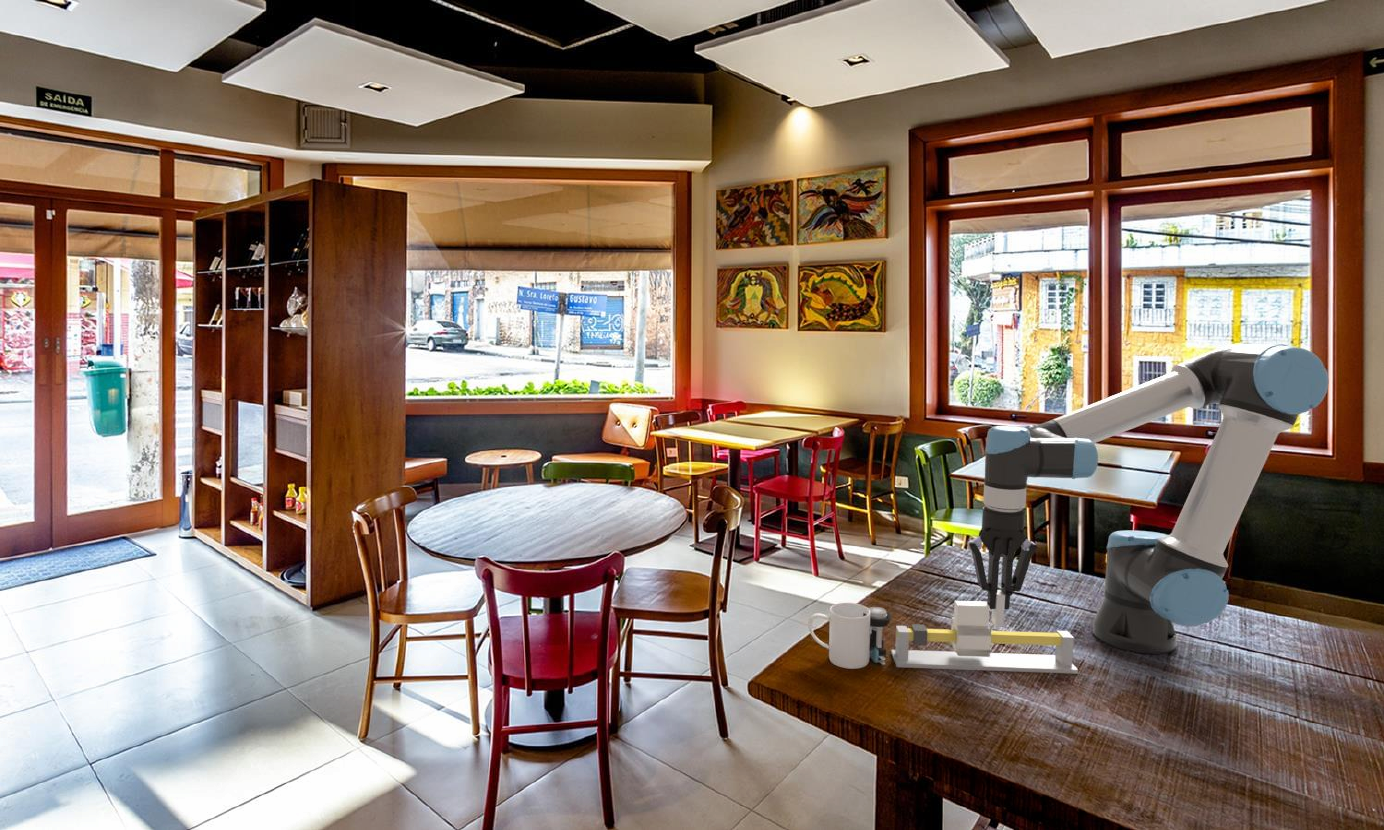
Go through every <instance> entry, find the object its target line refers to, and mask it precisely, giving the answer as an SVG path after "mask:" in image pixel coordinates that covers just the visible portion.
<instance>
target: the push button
mask: <svg viewBox="0 0 1384 830" xmlns="http://www.w3.org/2000/svg"><path fill="white" fill-rule="evenodd" d="M868 609H869V610H870V650H869V659H871V660H872V661H873V662H874V663H876V664H878V663H879V664H881V665H883V666H884V665H886V662H885V661H886V657H887V650H886V648H885V645H884V644H885V641H884V639H883V630H884V629H883V628H886V627H887V626H889V624H890V620H891V618H892V616H891V614H890V613H888V612H887V610H886V609H885V608H883V607H879V606H871V607H868ZM863 616H866V614H864V613H863Z"/></svg>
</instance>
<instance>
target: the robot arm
mask: <svg viewBox="0 0 1384 830" xmlns="http://www.w3.org/2000/svg"><path fill="white" fill-rule="evenodd" d="M1328 388H1329V373H1328V370H1327V369H1326V368H1325V365H1324V363H1323V361H1322V360H1321V359H1320V358H1319V357H1318V356H1317V355H1316V354H1315V353H1313V352H1312V351H1310V350H1308V349H1305V348H1302V347H1298V346H1292V345H1288V344H1287V345H1286V344H1283V343H1281V344H1266V343H1265V344H1259V343H1250V342H1239V343H1233V344H1229V345H1225V346H1221V347H1218V348H1215V349H1213V350H1210V351H1207V352H1206V353H1203V354H1200V355H1198V356H1196V357H1193V358H1190V359H1187V360H1186V361H1183V362H1180V363H1178V364H1176V365H1174V366H1173V367H1172V368H1171V370H1170V372H1169V373H1166V374H1164V375H1161V376H1159V377H1157V378H1154V379H1151V380H1149V381H1146V382H1143V383H1142V384H1139V385H1136V386H1134V387H1132V388H1129V389H1126V390H1123V391H1121V392H1119V393H1116V394H1114V395H1111V396H1108V397H1107V398H1104V399H1102V400H1098V401H1097V402H1093V403H1091V404H1089V405H1086V406H1084V407H1082V408H1079V409H1077V410H1074V411H1071V412H1069V413H1066V414H1064V415H1061V416H1059V417H1056V418H1053V419H1050V420H1049V421H1044V422H1043V423H1040V424H1038V425H1035V424H1034V425H1033V424H1025V425H1021V426H1015V425H1014V426H1011V425H997V426H992V427H991V428H989V429H988V431H987V436H986V442H985V447H984V448H985V449H984V452H985V455H984V456H985V458H984V459H985V460H984V461H985V462H984V482H983V483H984V485H983V500H982V503H983V504H984V506H983V507H982V516H981V529H980V531H979V533H978V536H976V537H975V538H973V539H971V538H969V539H967V540H966V545H967V546H968V548H969V549H970V552H971V555H972V560H973V565H974V570H975V575H976V579H977V584H978V586H979V587H980V588H981V590H983V591H986V592H987V601H986V602H987V604H988V605H989V606H990V609H989V610H991V623H992V624H993V625H994V627H995V628H1004V624H1005V623H1004V622H1005V610H1009V609H1010V605H1011V604H1010V602H1011V596H1012V595H1013V594H1014V592H1020V591H1021V590H1022V588H1023V584H1024V581H1025V579H1026V575H1027V571H1029V570H1028V569H1029V566H1030V563H1031V559H1032V557H1033V555H1034V554H1035V553H1036V552H1037V551H1038V549H1039V546H1038V545H1037V544H1036V543H1034V541H1032V540H1030V539H1028V538H1027V535H1026V533H1025V521H1026V520H1025V519H1026V511H1025V510H1024V508H1025V507H1026V502H1027V487H1028V482H1027V481H1028V478H1049V479H1050V478H1051V479H1052V478H1053V479H1055V478H1056V479H1072V480H1075V479H1085V478H1088V479H1089V478H1090V477H1092V476H1093V475H1094V474H1095V473H1096V471H1097V468H1098V464H1099V463H1098V462H1099V454H1098V449H1097V447H1096V446H1097V445H1096V444H1097V443H1098V442H1101V441H1103V440H1106V439H1108V438H1111V437H1114V436H1117V435H1119V434H1122V433H1124V432H1126V431H1129V430H1132V429H1135V428H1137V427H1140V426H1142V425H1145V424H1148V423H1150V422H1153V421H1155V420H1159V419H1160V418H1163V417H1166V416H1169V415H1171V414H1174V413H1176V412H1179V411H1182V410H1185V409H1187V408H1192V409H1195V410H1198V409H1202V408H1203V407H1206V406H1209V405H1213V404H1218V406H1217V407H1218V409H1219V410H1220V412H1221V414H1222V416H1223V417H1222V420H1221V422H1220V425H1219V427H1218V429H1217V432H1216V434H1215V436H1214V438H1213V440H1212V443H1211V445H1210V447H1209V449H1208V451H1207V453H1206V455H1205V458H1204V461H1203V463H1202V465H1201V467H1200V469H1199V471H1198V474H1197V476H1196V478H1195V480H1194V483H1193V485H1192V487H1191V488H1190V492H1189V493H1188V496H1187V498H1186V501H1185V502H1184V505H1183V507H1182V509H1181V511H1180V513H1179V516H1178V517H1177V521H1176V522H1175V525H1174V527H1173V529H1172V530H1171V533H1170V534H1166V533H1160V532H1155V531H1146V530H1131V529H1130V530H1128V529H1127V530H1117V531H1114V532H1112V533H1110V535H1109V536H1108V542H1107V545H1106V564H1105V565H1106V566H1105V578H1104V579H1105V582H1104V595H1103V600H1102V602H1101V604H1100V605H1099V608H1098V610H1097V612H1096V614H1095V617H1094V618H1093V621H1092V633H1093V635H1094V636H1095V637H1096V638H1097V639H1099V640H1100V641H1102V642H1104V643H1105V644H1108V645H1109V646H1113V647H1115V648H1118V649H1121V650H1124V651H1125V650H1126V651H1129V652H1134V653H1139V654H1151V655H1152V654H1153V655H1156V654H1158V655H1159V654H1166V653H1170V652H1172V651H1174V650H1175V649H1176V646H1177V644H1176V643H1177V634H1176V630H1175V628H1174V624H1176V625H1180V626H1185V627H1198V626H1201V625H1204V624H1208V623H1211V622H1212V621H1214V620H1216V619H1217V618H1218V617H1219V616H1221V614H1222V613H1223V612H1224V611H1225V609H1226V607H1227V605H1228V602H1229V590H1228V589H1227V584H1226V583H1225V581H1224V580H1223V578H1224V576H1225V574H1226V572H1227V569H1228V567H1229V564H1228V562H1227V560H1226V558H1225V556H1224V552H1225V550H1226V548H1227V545H1228V543H1229V541H1230V538H1232V535H1233V533H1234V530H1235V528H1236V526H1237V524H1238V522H1239V520H1240V518H1241V515H1242V513H1243V511H1244V508H1245V506H1246V505H1247V502H1248V500H1249V498H1250V495H1251V494H1252V492H1253V489H1254V487H1255V485H1256V483H1257V482H1258V479H1259V477H1260V475H1261V472H1262V470H1263V468H1264V465H1265V464H1266V461H1267V460H1268V457H1269V455H1270V453H1271V451H1272V448H1273V446H1274V444H1275V442H1276V440H1277V438H1278V435H1279V434H1280V433H1282V432H1285V431H1287V430H1288V431H1289V430H1290V429H1293V428H1294V426H1295V425H1296V424H1295V423H1296V421H1297V419H1298V417H1299V415H1300V414H1303V413H1307V412H1309V411H1310V410H1311V409H1315V408H1316V407H1318V406H1319V405H1320V404H1321V402H1323V400H1324V398H1325V397H1326V394H1327V392H1328ZM982 544H983V545H984V546H985V548H986V549H987V551H988V567H987V568H988V570H987V575H986V572H985V571H986V570H985V566H984V561H983V560H984V559H983V556H982V553H981V551H980V550H981V549H982ZM1020 548H1021V551H1020V554H1019V557H1018V560H1017V563H1016V566H1015V570H1014V569H1013V568H1014V561H1015V554H1016V552H1017V551H1018V550H1019V549H1020ZM1001 556H1002V560H1001ZM1000 560H1001V579H1000V580H1001V581H1000V589H998V588H999V570H1000ZM1013 570H1014V571H1013Z"/></svg>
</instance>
